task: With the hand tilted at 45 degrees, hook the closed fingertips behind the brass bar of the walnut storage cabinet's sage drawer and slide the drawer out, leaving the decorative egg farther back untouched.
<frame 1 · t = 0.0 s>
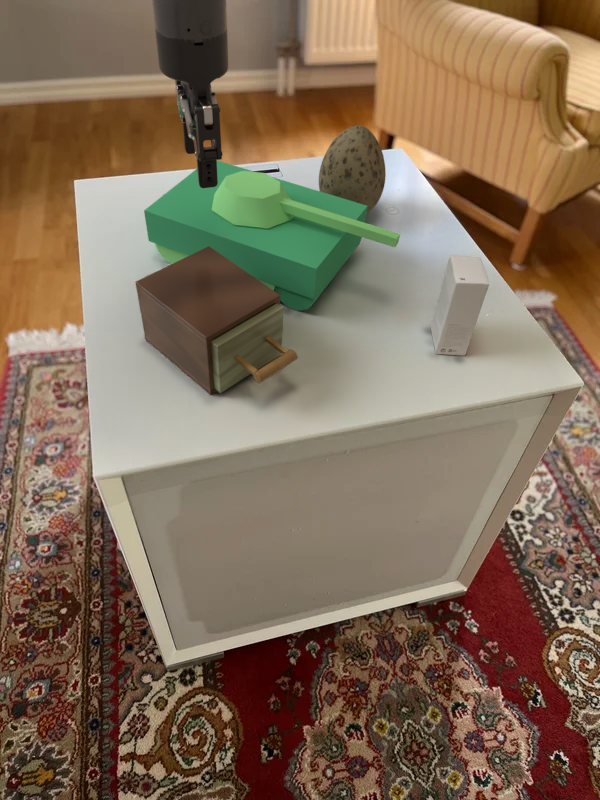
hand: (200, 168, 79), 19 cm above the table, tool pointing down, fingers open, 8 cm apart
cosmetic box: (447, 341, 88), on the table
toy tank: (280, 265, 98), on the table
decorative egg: (347, 215, 108), on the table
drawer: (231, 335, 79), point 5 cm above the table, slide at 0.0 cm, touching cabinet
cabinet: (211, 346, 85), on the table
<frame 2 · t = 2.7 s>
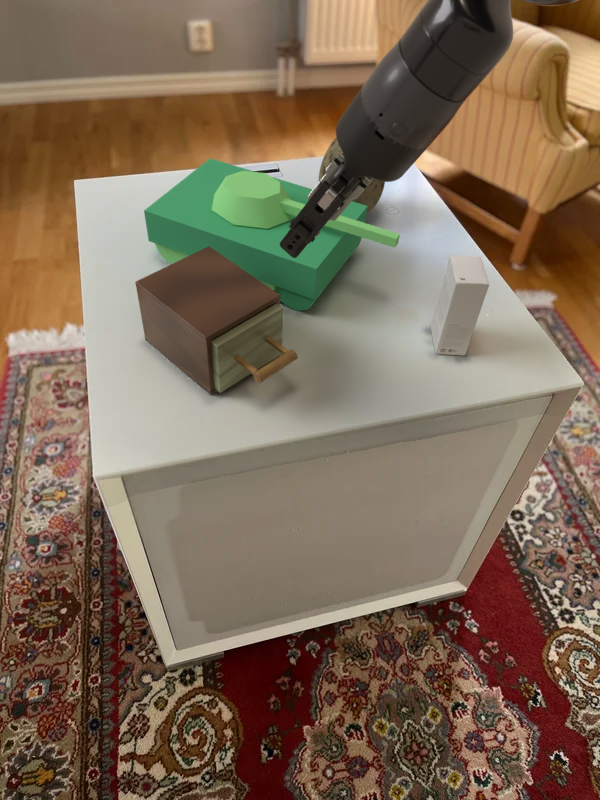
hand: (306, 229, 66), 21 cm above the table, tool tilted 30°, fingers open, 8 cm apart
nothing on the table moved.
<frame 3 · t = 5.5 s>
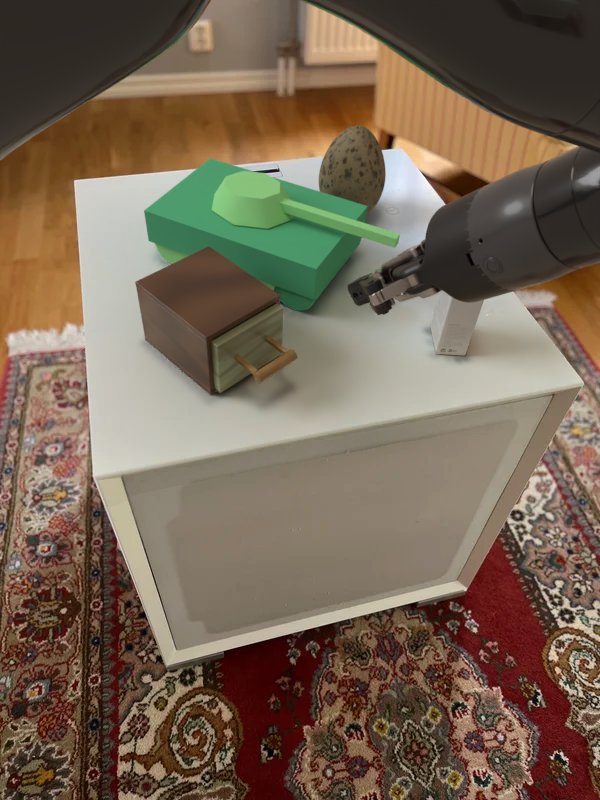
hand: (356, 293, 58), 22 cm above the table, tool tilted 45°, fingers closed
nothing on the table moved.
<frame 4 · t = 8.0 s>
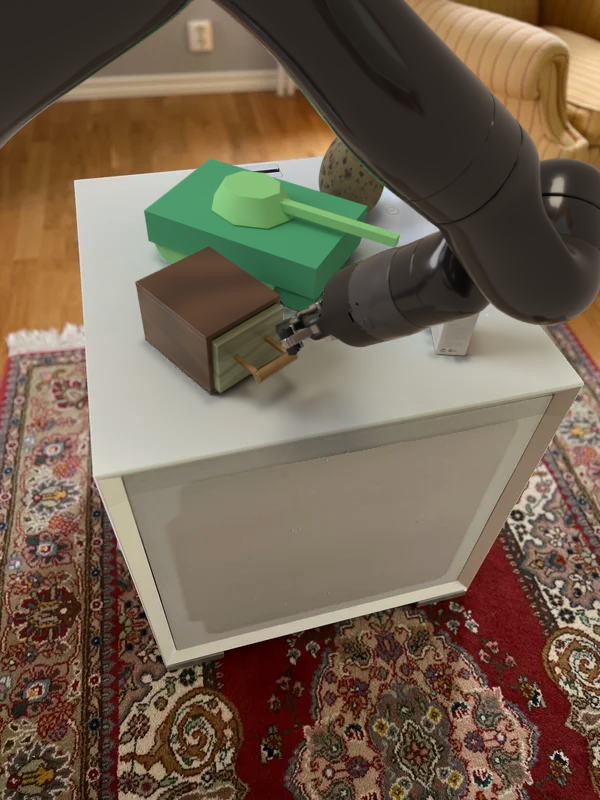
hand: (283, 331, 70), 11 cm above the table, tool tilted 45°, fingers closed
nothing on the table moved.
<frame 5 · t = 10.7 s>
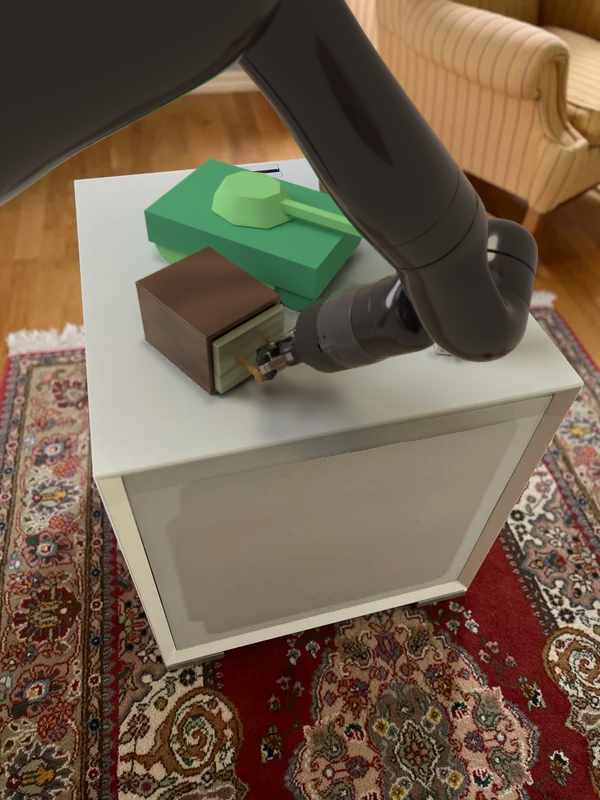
hand: (263, 355, 76), 5 cm above the table, tool tilted 45°, fingers closed
drawer: (232, 335, 79), point 5 cm above the table, slide at 0.2 cm, touching gripper
everything else where it was.
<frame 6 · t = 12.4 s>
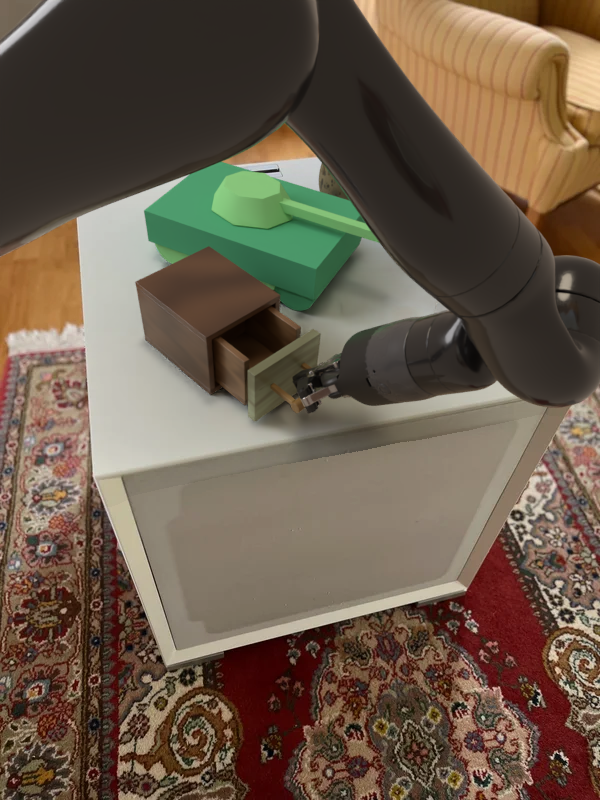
hand: (299, 382, 73), 6 cm above the table, tool tilted 45°, fingers closed
drawer: (265, 361, 76), point 5 cm above the table, slide at 6.3 cm, touching gripper
everything else where it was.
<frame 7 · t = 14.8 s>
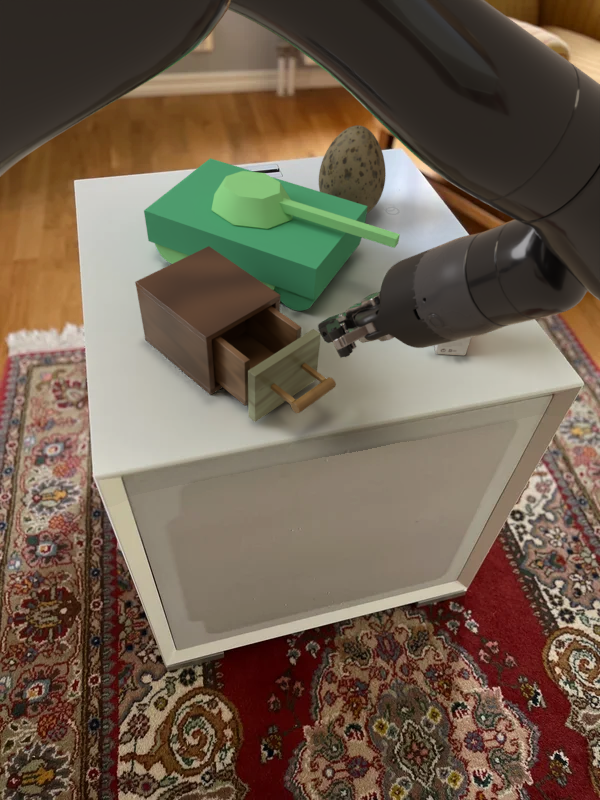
hand: (326, 331, 64), 16 cm above the table, tool tilted 45°, fingers closed
drawer: (265, 361, 76), point 5 cm above the table, slide at 6.3 cm
everything else where it was.
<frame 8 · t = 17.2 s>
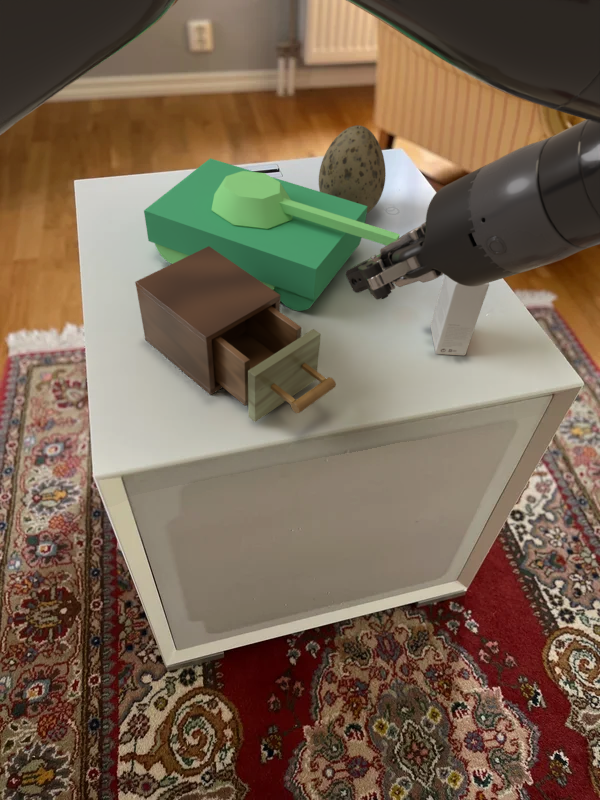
hand: (354, 279, 57), 24 cm above the table, tool tilted 45°, fingers closed
nothing on the table moved.
at the end: drawer slide at 6.3 cm; decorative egg moved 0.2 cm from its start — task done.
